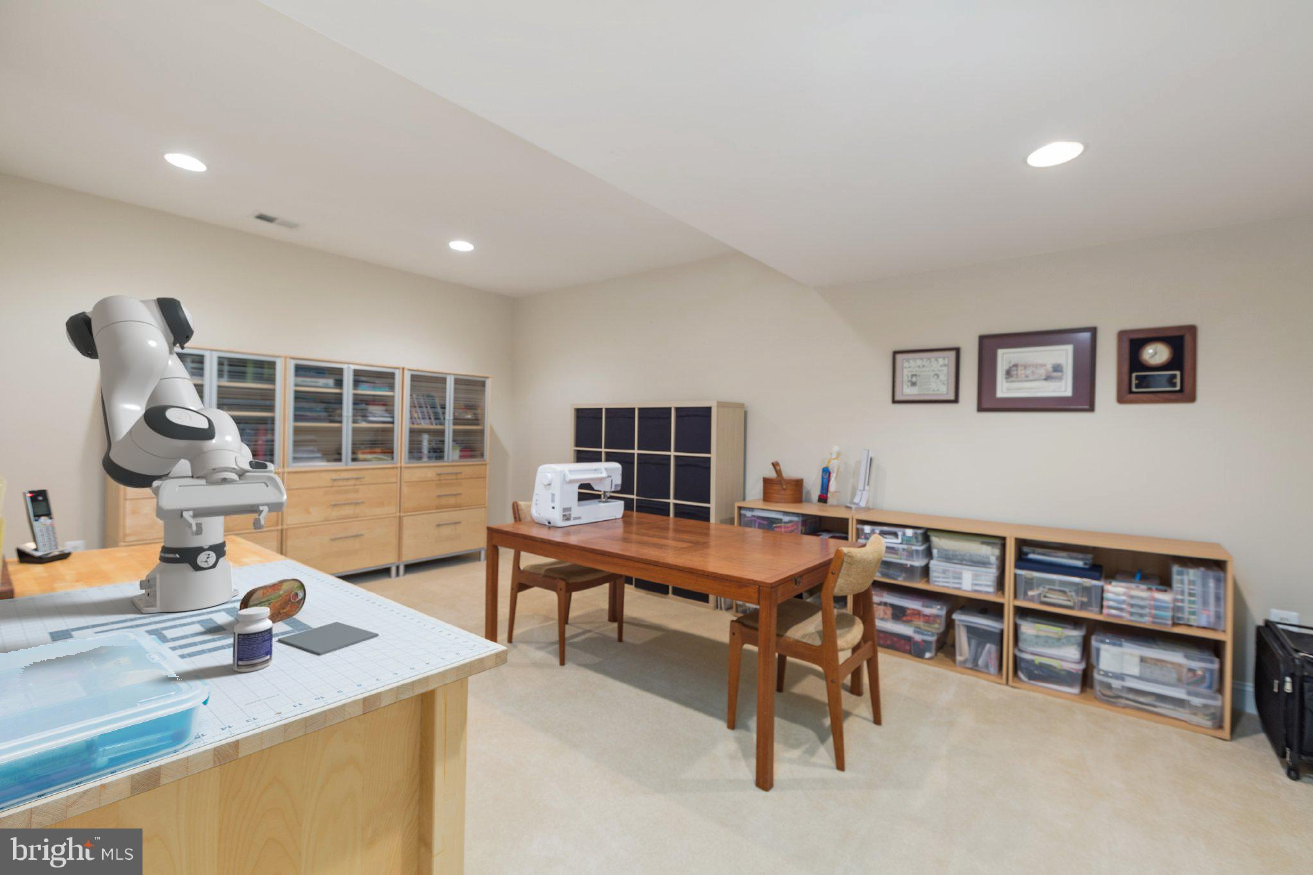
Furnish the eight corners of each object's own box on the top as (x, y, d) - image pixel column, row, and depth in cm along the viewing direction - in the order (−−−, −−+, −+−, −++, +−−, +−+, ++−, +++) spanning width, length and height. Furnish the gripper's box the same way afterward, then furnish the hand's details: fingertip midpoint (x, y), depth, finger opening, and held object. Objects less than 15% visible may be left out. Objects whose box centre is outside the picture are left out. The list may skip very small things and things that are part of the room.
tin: (248, 633, 117) (249, 592, 117) (235, 632, 117) (236, 591, 117) (307, 611, 131) (307, 574, 131) (295, 610, 132) (296, 573, 132)
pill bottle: (279, 662, 103) (280, 607, 102) (247, 675, 97) (249, 616, 97) (256, 658, 104) (258, 603, 104) (224, 670, 99) (225, 612, 99)
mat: (277, 640, 113) (277, 638, 113) (336, 623, 124) (336, 621, 124) (320, 655, 106) (320, 653, 106) (378, 635, 117) (378, 633, 117)
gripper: (152, 466, 105) (157, 526, 98) (281, 463, 120) (294, 515, 113) (149, 488, 108) (154, 548, 102) (276, 482, 123) (288, 534, 116)
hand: (229, 530), depth 107 cm, fingers open, 8 cm apart
